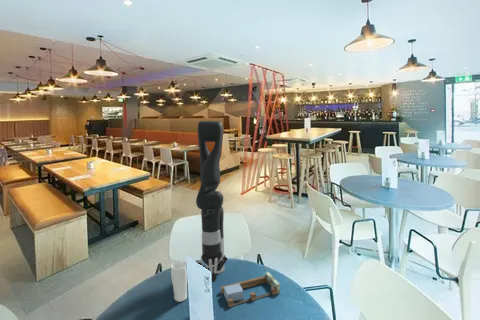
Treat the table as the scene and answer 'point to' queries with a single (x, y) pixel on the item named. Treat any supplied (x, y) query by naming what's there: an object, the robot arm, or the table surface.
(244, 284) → the lane
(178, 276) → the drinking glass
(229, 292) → the brick
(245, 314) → the table surface
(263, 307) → the table surface
